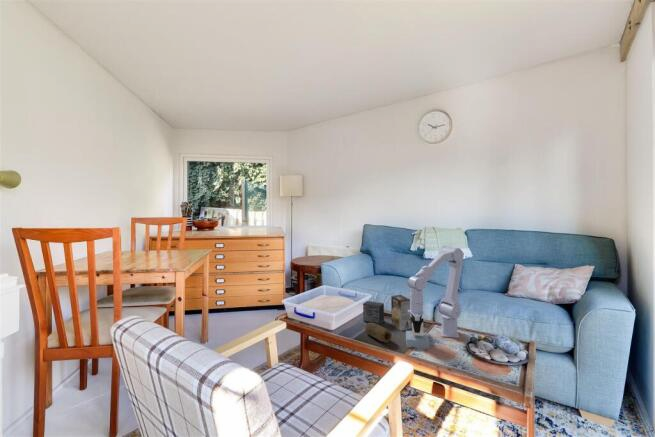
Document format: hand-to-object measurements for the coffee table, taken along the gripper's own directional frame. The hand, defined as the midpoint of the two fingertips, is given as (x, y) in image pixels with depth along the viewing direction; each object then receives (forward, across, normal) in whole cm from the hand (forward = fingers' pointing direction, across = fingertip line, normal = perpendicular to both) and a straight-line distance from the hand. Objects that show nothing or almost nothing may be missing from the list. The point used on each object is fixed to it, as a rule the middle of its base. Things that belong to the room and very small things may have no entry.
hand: (417, 330), depth 145 cm
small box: (+7, -23, -23) cm, 33 cm away
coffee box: (+6, -18, -8) cm, 21 cm away
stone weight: (+7, -2, -19) cm, 20 cm away
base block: (+7, 0, 0) cm, 7 cm away
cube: (+2, 0, 0) cm, 2 cm away
